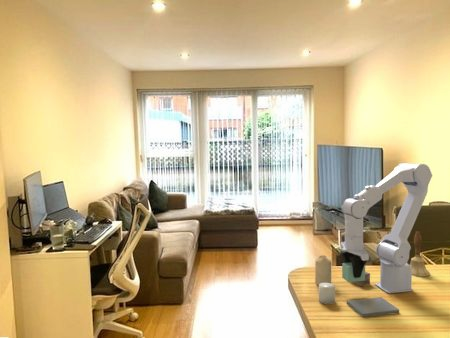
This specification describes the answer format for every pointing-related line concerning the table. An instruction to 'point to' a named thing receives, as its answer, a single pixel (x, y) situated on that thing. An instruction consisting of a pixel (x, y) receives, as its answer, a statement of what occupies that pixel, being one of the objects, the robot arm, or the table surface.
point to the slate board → (372, 307)
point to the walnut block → (361, 283)
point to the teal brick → (351, 273)
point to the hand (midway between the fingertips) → (353, 274)
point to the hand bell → (418, 259)
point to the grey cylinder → (327, 293)
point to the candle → (322, 270)
